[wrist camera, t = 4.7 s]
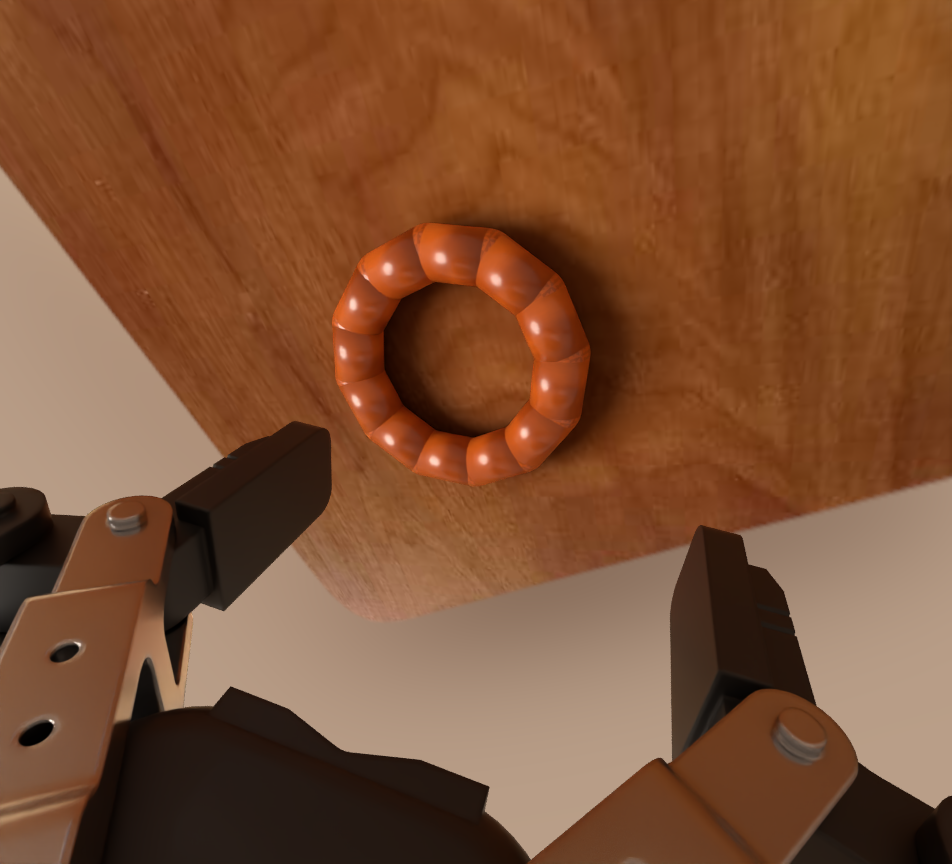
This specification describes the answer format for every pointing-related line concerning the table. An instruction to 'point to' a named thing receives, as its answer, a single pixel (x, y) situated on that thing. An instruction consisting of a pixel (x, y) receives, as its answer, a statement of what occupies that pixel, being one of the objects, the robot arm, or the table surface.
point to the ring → (515, 288)
